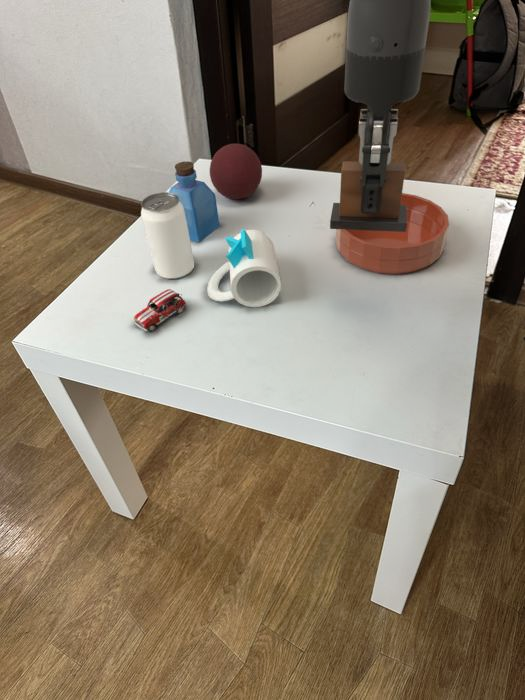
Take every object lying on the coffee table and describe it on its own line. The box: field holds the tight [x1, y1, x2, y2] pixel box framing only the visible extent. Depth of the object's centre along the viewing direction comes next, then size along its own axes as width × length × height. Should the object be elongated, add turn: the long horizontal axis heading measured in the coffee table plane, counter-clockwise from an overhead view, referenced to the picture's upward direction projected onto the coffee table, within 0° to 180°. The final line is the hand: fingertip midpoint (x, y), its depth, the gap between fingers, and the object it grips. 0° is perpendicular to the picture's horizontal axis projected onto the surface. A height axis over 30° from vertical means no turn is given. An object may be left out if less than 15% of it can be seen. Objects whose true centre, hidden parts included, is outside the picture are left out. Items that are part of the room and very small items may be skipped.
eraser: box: [329, 160, 407, 232], centre depth 59 cm, size 9×4×7 cm, turn 79°
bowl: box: [335, 192, 450, 275], centre depth 80 cm, size 17×17×5 cm
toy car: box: [133, 288, 187, 333], centre depth 71 cm, size 4×8×3 cm, turn 136°
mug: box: [206, 228, 282, 308], centre depth 75 cm, size 12×9×12 cm
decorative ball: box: [209, 143, 263, 200], centre depth 94 cm, size 10×10×10 cm
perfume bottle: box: [168, 160, 221, 243], centre depth 85 cm, size 6×6×12 cm
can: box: [140, 191, 195, 280], centre depth 77 cm, size 6×6×12 cm
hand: (370, 205), depth 60 cm, fingers closed on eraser, 2 cm apart
